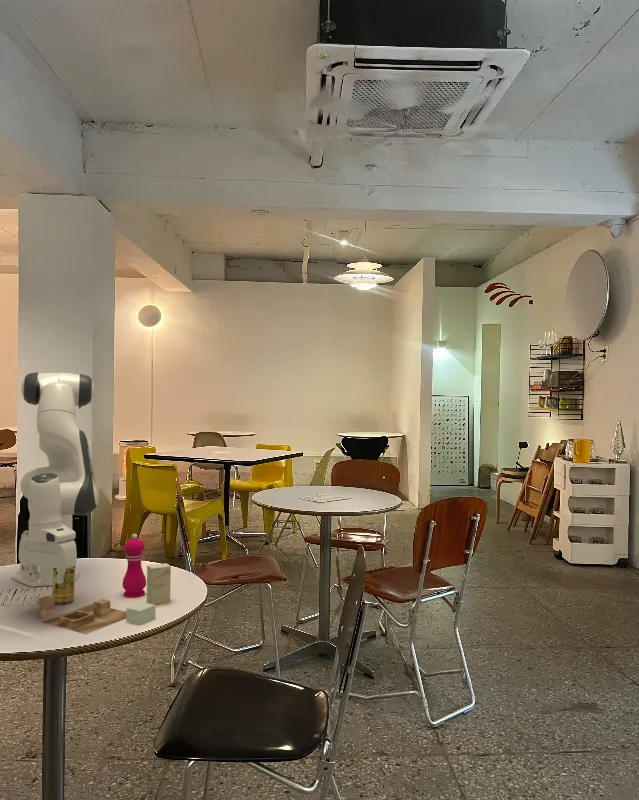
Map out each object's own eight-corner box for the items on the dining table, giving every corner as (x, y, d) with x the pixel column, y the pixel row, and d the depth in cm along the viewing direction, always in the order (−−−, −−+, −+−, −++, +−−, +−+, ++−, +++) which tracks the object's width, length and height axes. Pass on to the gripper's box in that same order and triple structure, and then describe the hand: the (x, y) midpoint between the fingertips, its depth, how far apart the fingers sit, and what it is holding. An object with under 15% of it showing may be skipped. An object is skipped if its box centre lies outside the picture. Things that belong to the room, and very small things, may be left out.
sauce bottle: (53, 609, 195) (53, 542, 194) (50, 603, 200) (50, 538, 200) (76, 606, 198) (76, 540, 197) (73, 600, 203) (73, 536, 203)
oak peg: (37, 620, 186) (36, 598, 186) (46, 616, 188) (46, 595, 188) (44, 622, 184) (44, 600, 184) (54, 618, 187) (54, 597, 187)
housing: (126, 625, 182) (126, 608, 182) (142, 618, 187) (142, 602, 187) (139, 628, 179) (139, 611, 179) (155, 622, 185) (155, 604, 185)
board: (40, 625, 181) (40, 609, 181) (92, 607, 197) (92, 592, 197) (85, 638, 172) (85, 620, 172) (136, 617, 188) (136, 601, 188)
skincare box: (150, 609, 195) (150, 568, 195) (146, 605, 199) (146, 565, 199) (171, 606, 198) (171, 565, 198) (166, 602, 202) (166, 562, 202)
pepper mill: (139, 602, 202) (139, 536, 202) (118, 600, 203) (118, 535, 203) (150, 594, 209) (150, 531, 209) (129, 593, 211) (129, 530, 210)
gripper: (12, 531, 188) (13, 580, 188) (61, 537, 178) (62, 588, 178) (31, 527, 194) (32, 574, 194) (80, 532, 184) (81, 582, 184)
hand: (47, 581), depth 186 cm, fingers open, 8 cm apart
